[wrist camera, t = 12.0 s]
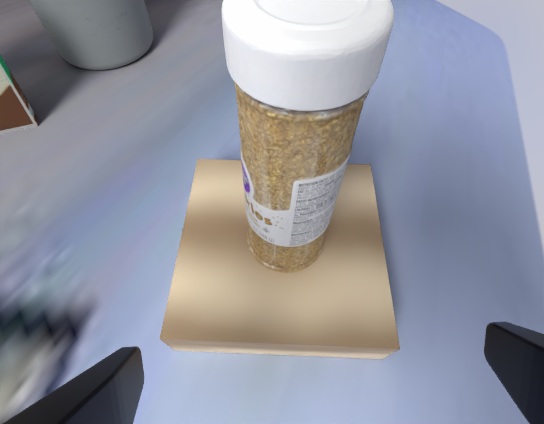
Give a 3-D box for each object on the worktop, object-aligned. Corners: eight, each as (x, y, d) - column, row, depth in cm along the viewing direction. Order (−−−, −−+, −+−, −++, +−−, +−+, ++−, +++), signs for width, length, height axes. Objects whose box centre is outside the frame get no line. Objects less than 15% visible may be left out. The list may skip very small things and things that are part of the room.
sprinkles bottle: (235, 226, 20) (192, -25, 9) (299, 198, 22) (333, -56, 10) (269, 290, 18) (271, 66, 7) (339, 255, 19) (439, 13, 8)
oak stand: (382, 359, 19) (399, 348, 17) (174, 350, 19) (159, 338, 17) (360, 190, 26) (370, 164, 23) (204, 185, 26) (197, 158, 23)
